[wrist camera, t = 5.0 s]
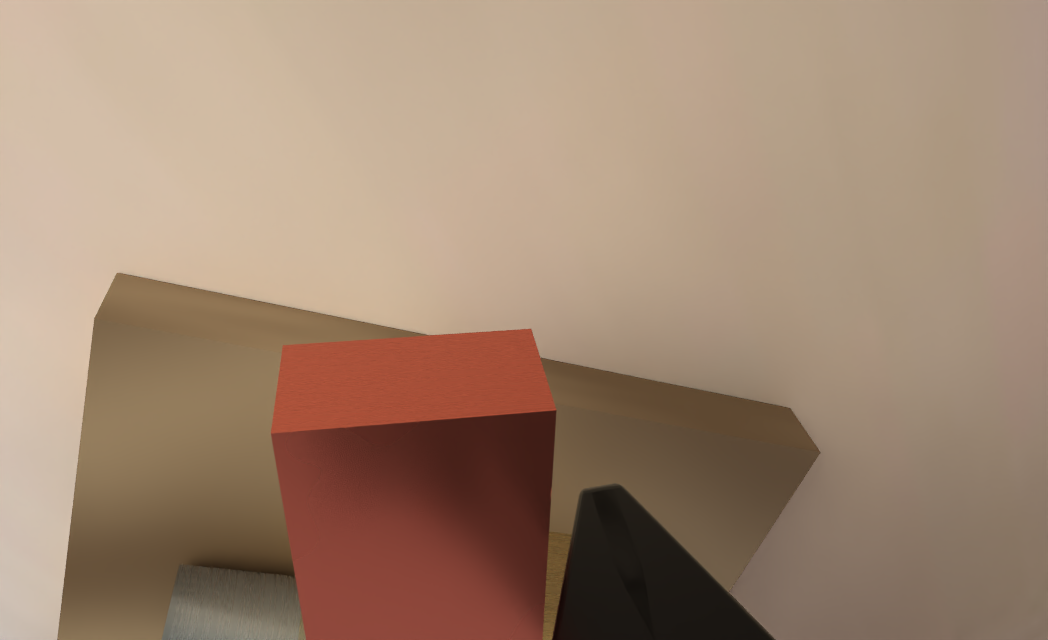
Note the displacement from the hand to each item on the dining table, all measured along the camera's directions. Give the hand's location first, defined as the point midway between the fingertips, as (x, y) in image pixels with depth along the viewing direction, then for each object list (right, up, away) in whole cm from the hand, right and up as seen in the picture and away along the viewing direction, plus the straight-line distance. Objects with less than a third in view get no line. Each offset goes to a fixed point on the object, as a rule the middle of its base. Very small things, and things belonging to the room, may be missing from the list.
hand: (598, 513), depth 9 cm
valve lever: (-2, -3, +2) cm, 4 cm away
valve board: (-3, -3, +10) cm, 11 cm away
